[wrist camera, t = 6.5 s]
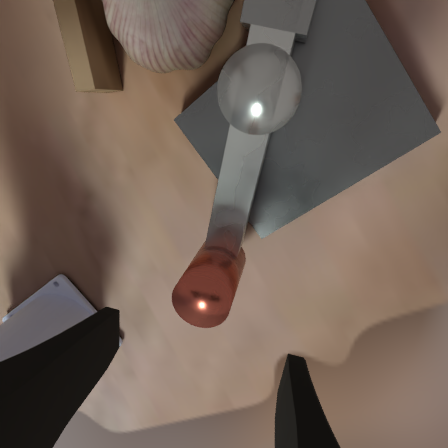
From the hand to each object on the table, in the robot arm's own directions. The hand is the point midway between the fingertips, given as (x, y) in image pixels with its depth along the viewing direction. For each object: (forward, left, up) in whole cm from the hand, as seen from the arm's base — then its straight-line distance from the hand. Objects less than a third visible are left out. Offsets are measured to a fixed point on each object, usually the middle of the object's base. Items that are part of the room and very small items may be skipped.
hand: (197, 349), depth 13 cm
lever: (+5, +5, -8) cm, 11 cm away
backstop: (+2, +16, -10) cm, 19 cm away
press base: (+8, +5, -10) cm, 13 cm away
